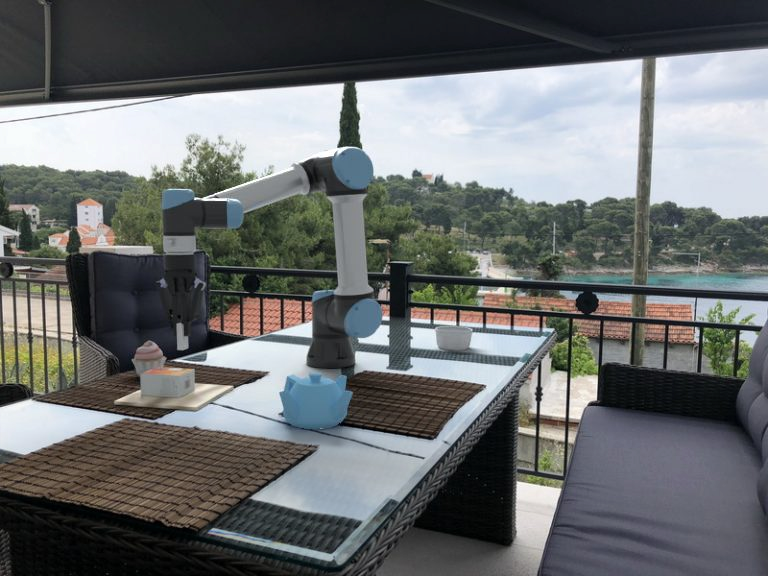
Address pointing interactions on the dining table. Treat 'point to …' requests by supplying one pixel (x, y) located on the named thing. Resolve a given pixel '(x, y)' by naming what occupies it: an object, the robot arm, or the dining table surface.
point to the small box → (167, 382)
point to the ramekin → (453, 337)
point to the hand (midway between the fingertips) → (182, 348)
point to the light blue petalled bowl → (315, 401)
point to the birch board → (187, 402)
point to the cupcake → (148, 357)
